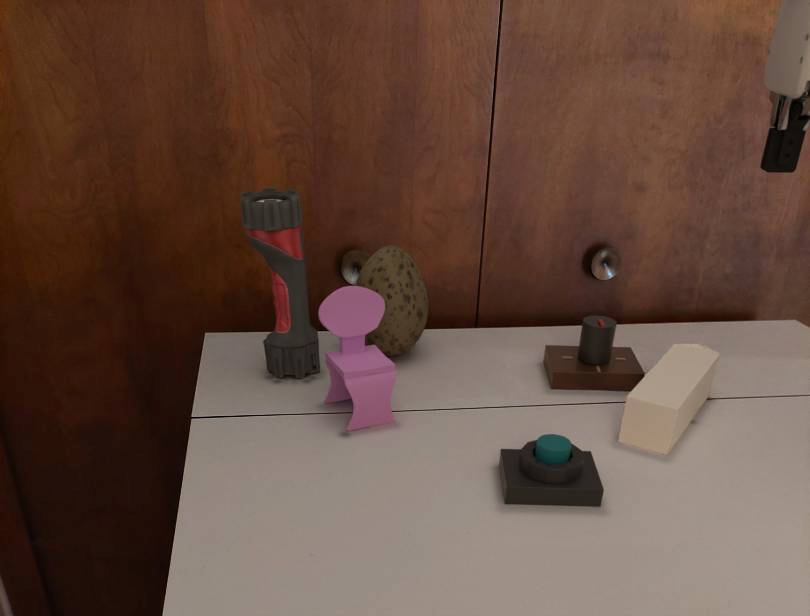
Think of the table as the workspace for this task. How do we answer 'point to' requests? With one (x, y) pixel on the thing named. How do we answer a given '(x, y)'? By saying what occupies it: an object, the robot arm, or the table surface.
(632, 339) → the table surface
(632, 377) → the dial panel
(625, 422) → the milk
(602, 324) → the dial
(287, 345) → the flashlight
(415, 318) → the decorative egg
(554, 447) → the teal push button
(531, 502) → the push button base
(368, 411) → the toy chair
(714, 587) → the table surface
